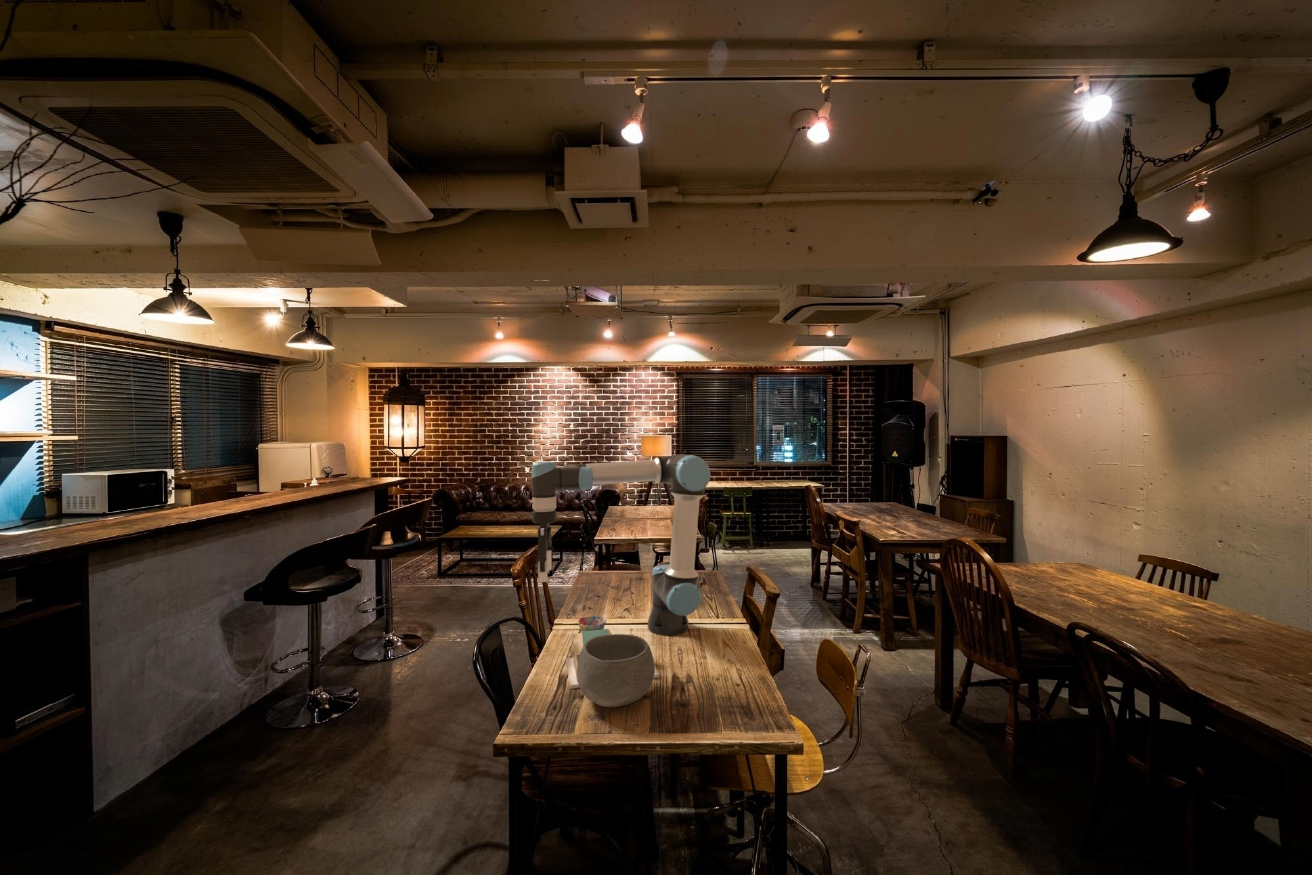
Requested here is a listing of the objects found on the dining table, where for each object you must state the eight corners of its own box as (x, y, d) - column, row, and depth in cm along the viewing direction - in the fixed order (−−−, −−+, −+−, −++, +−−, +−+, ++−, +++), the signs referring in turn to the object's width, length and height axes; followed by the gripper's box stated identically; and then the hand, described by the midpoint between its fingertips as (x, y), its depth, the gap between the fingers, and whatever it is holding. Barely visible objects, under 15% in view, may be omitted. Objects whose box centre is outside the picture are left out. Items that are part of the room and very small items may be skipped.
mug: (602, 659, 166) (602, 626, 166) (574, 657, 167) (574, 624, 167) (611, 644, 178) (611, 613, 177) (585, 642, 179) (585, 612, 179)
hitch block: (645, 652, 171) (645, 625, 171) (659, 677, 154) (659, 647, 154) (565, 661, 165) (565, 633, 165) (570, 688, 147) (570, 657, 147)
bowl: (662, 685, 149) (662, 633, 149) (644, 726, 128) (643, 666, 128) (592, 678, 154) (592, 627, 153) (564, 716, 133) (564, 658, 133)
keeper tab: (609, 630, 157) (609, 628, 157) (612, 649, 152) (612, 647, 152) (581, 633, 155) (581, 631, 155) (583, 652, 150) (583, 650, 150)
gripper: (537, 504, 179) (538, 565, 179) (526, 516, 154) (527, 587, 154) (559, 503, 180) (560, 564, 180) (552, 515, 155) (553, 586, 155)
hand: (545, 575), depth 167 cm, fingers open, 13 cm apart
